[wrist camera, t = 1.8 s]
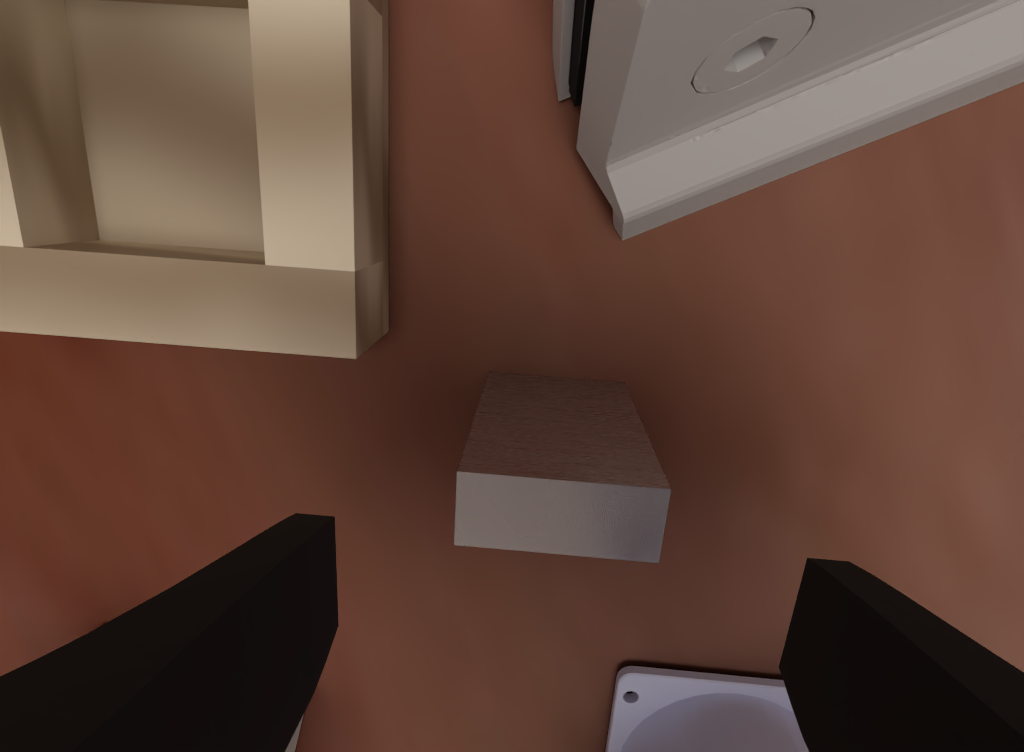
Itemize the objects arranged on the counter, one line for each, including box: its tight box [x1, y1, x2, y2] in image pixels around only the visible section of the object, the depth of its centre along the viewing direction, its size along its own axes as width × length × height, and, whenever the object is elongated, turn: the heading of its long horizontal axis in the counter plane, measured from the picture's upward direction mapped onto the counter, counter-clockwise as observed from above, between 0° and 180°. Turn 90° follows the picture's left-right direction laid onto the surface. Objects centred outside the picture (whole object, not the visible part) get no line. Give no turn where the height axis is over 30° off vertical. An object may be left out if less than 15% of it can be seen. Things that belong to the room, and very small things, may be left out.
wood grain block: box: [454, 372, 671, 563], centre depth 14 cm, size 4×4×6 cm
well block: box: [0, 0, 389, 359], centre depth 14 cm, size 10×10×3 cm
